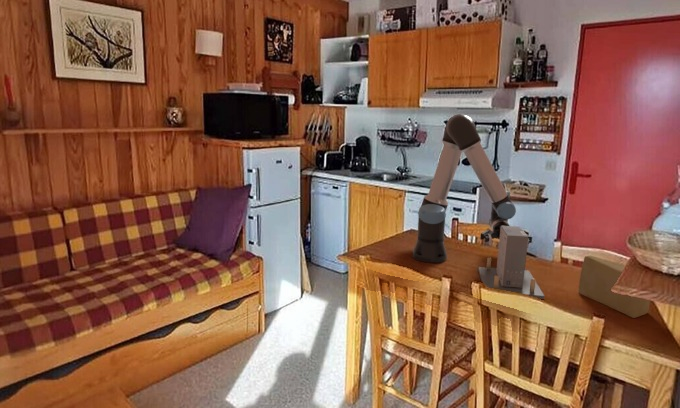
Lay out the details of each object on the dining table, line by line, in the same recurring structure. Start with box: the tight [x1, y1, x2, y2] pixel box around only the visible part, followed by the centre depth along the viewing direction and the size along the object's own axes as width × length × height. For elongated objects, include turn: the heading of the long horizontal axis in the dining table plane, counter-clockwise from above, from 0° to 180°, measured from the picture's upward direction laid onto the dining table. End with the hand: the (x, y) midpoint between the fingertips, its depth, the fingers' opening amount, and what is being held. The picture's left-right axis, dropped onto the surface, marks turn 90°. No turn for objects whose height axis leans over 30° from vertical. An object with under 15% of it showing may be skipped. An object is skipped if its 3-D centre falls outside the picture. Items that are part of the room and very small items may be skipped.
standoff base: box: [477, 257, 545, 300], centre depth 175 cm, size 20×26×6 cm
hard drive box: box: [496, 225, 529, 288], centre depth 174 cm, size 16×8×20 cm, turn 170°
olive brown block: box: [578, 255, 651, 319], centre depth 158 cm, size 22×10×15 cm, turn 29°
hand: (508, 243), depth 180 cm, fingers open, 13 cm apart
